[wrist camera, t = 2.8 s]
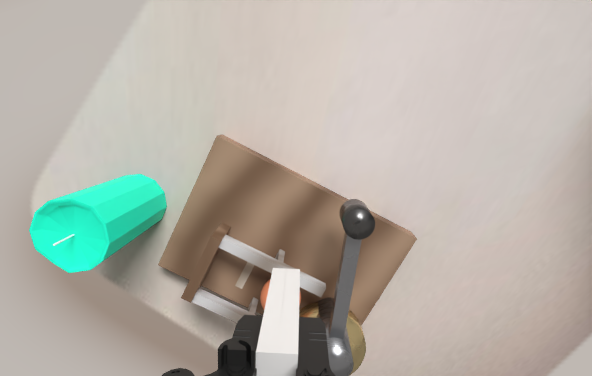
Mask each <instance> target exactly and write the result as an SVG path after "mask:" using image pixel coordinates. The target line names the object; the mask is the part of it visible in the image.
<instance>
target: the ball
mask: <svg viewBox="0 0 592 376" xmlns="http://www.w3.org/2000/svg"><path fill="white" fill-rule="evenodd" d="M270 280H271V279H270ZM270 280H268V281H267V282H266V283H265V285H264V286H263V288H262V291H261V295H260V300H261V305H262V307H263V309H265V304H266V299H267V294H268V289H269V285H270ZM300 303H301V292H300V295H299V306H300Z"/></svg>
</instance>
